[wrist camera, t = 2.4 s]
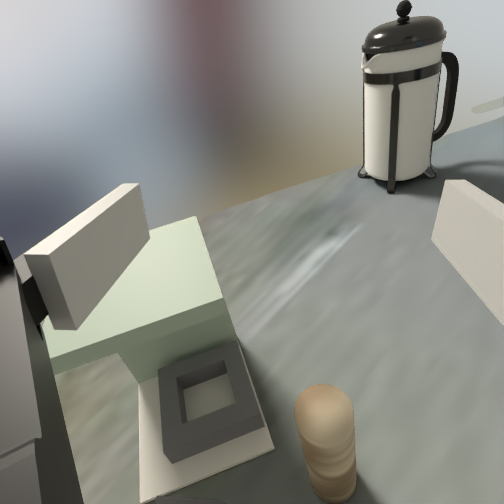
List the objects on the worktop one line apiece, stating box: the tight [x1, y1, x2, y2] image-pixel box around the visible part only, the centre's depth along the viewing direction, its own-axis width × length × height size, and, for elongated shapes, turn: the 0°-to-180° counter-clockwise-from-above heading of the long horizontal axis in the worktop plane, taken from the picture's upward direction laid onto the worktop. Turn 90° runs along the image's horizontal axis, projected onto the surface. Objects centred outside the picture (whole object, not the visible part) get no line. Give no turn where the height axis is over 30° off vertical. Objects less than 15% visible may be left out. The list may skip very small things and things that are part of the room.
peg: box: [294, 384, 357, 504], centre depth 26 cm, size 4×4×11 cm
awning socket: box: [42, 216, 275, 504], centre depth 32 cm, size 15×13×18 cm
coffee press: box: [358, 0, 459, 192], centre depth 62 cm, size 17×16×30 cm
